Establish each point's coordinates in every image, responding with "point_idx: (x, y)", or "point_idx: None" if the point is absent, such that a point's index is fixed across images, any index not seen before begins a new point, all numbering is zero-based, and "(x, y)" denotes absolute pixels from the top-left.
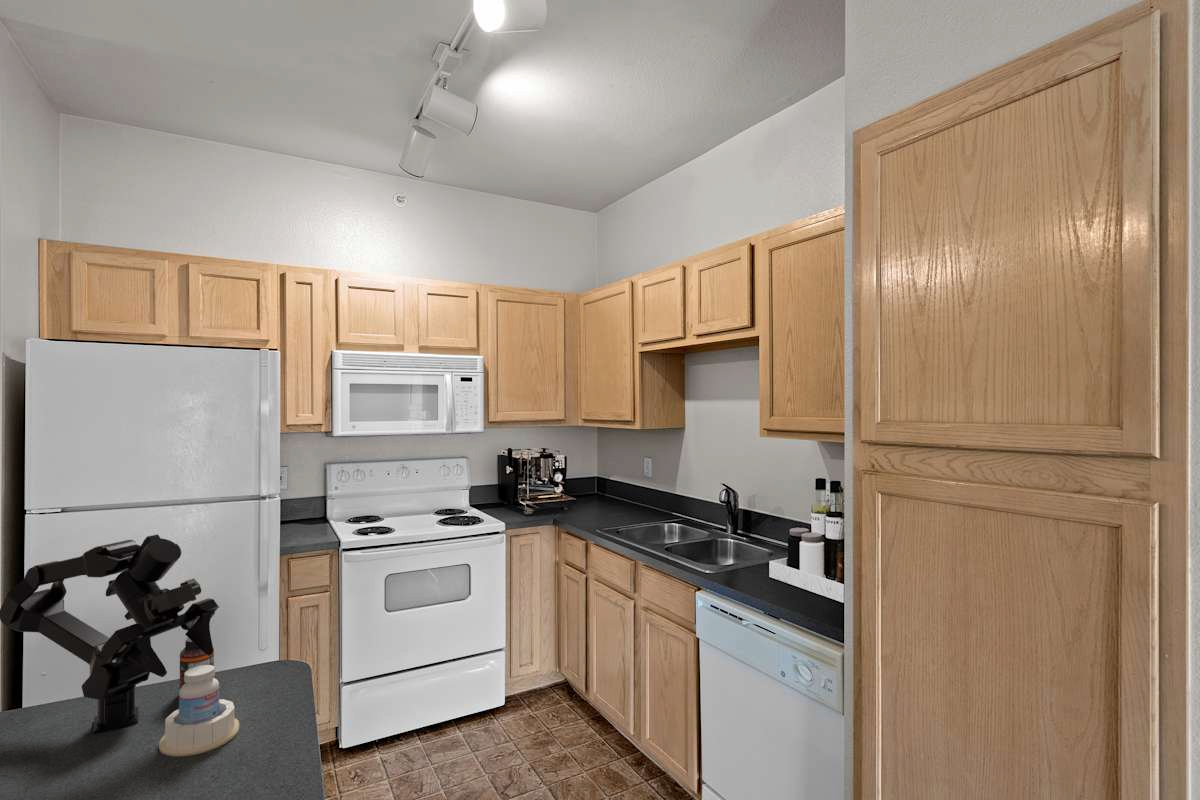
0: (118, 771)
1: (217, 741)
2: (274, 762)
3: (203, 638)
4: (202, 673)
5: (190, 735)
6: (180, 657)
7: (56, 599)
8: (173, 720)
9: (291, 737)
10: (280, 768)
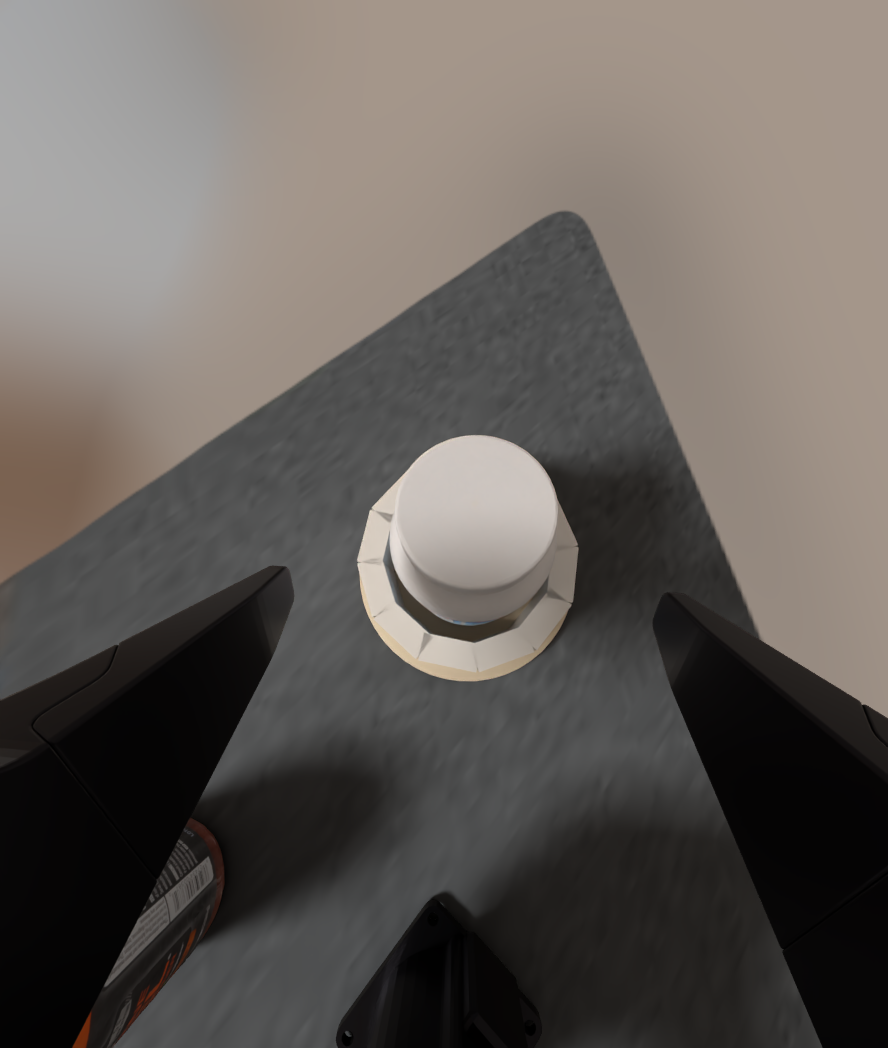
0: None
1: None
2: (517, 312)
3: (190, 678)
4: (511, 452)
5: None
6: None
7: None
8: (535, 609)
9: (415, 343)
10: (533, 287)
